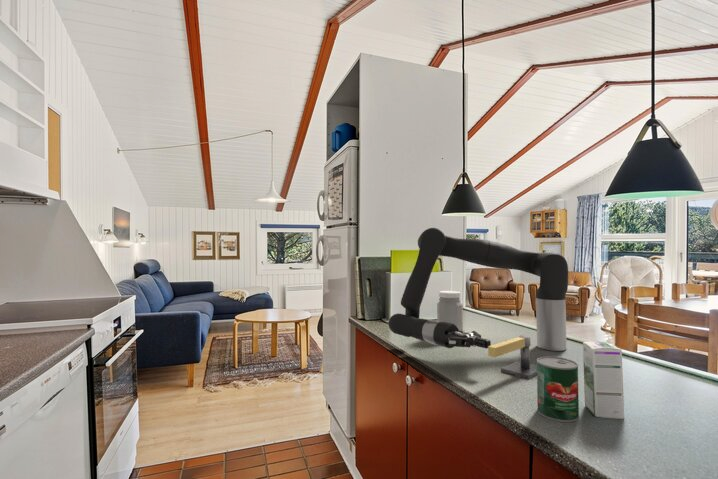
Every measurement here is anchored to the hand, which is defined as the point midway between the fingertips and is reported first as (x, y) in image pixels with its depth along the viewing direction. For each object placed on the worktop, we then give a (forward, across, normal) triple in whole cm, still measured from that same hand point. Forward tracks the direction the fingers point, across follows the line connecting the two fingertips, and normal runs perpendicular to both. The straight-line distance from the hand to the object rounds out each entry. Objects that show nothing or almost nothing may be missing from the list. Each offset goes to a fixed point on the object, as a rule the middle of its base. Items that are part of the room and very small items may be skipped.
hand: (489, 344), depth 103 cm
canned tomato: (+22, -10, +9) cm, 26 cm away
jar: (-34, +26, +9) cm, 43 cm away
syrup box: (+28, -2, +9) cm, 30 cm away
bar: (+5, +3, +1) cm, 6 cm away
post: (+4, +11, +8) cm, 15 cm away
